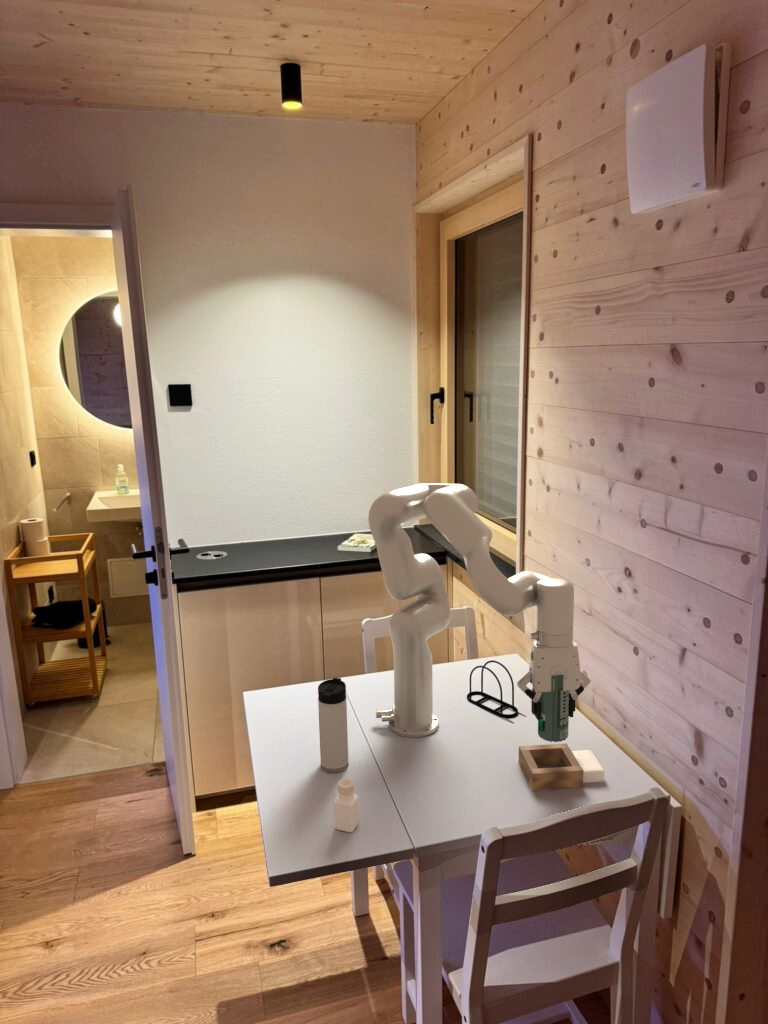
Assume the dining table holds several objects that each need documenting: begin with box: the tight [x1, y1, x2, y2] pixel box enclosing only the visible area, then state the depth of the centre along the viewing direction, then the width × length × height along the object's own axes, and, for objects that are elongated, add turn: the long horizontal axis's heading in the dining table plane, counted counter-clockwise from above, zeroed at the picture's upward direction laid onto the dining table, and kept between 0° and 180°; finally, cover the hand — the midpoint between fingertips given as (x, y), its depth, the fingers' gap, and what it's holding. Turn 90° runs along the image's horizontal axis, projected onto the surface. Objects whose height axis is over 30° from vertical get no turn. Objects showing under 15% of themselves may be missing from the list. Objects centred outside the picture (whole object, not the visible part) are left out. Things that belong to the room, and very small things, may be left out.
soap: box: [571, 749, 606, 784], centre depth 161 cm, size 9×6×3 cm, turn 4°
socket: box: [518, 742, 584, 792], centre depth 160 cm, size 11×11×4 cm
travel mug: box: [317, 677, 349, 774], centre depth 163 cm, size 6×7×20 cm
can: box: [537, 675, 570, 743], centre depth 156 cm, size 6×6×15 cm
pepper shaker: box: [333, 778, 360, 833], centre depth 143 cm, size 4×4×10 cm
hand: (553, 714), depth 157 cm, fingers closed on can, 6 cm apart
